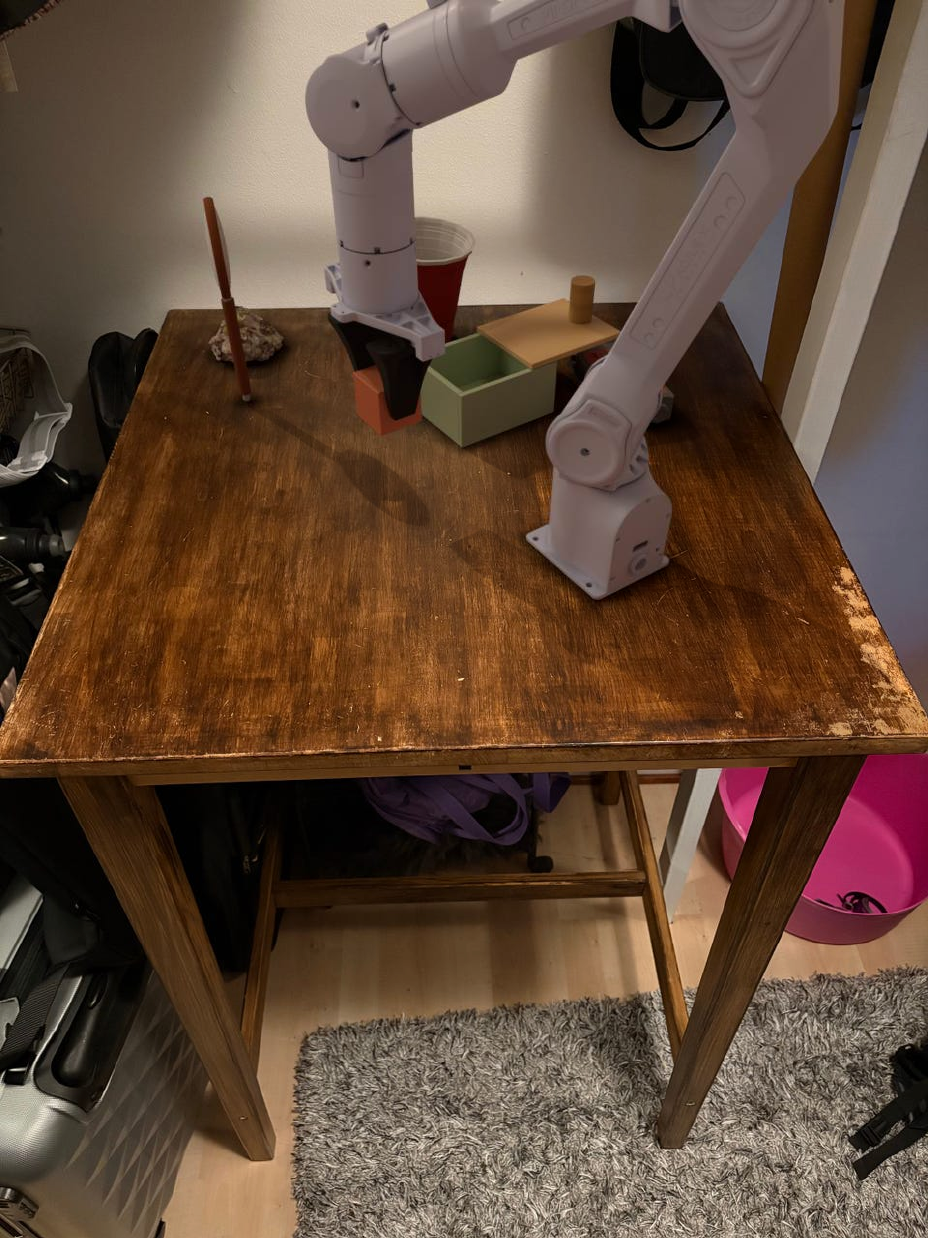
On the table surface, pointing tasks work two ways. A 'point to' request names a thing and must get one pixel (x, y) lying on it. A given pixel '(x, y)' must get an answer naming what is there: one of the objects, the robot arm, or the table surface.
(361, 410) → the block
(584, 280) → the lid
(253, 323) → the mineral rock
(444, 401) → the box
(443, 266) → the plastic cup
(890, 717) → the table surface
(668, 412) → the walkie-talkie
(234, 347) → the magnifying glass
